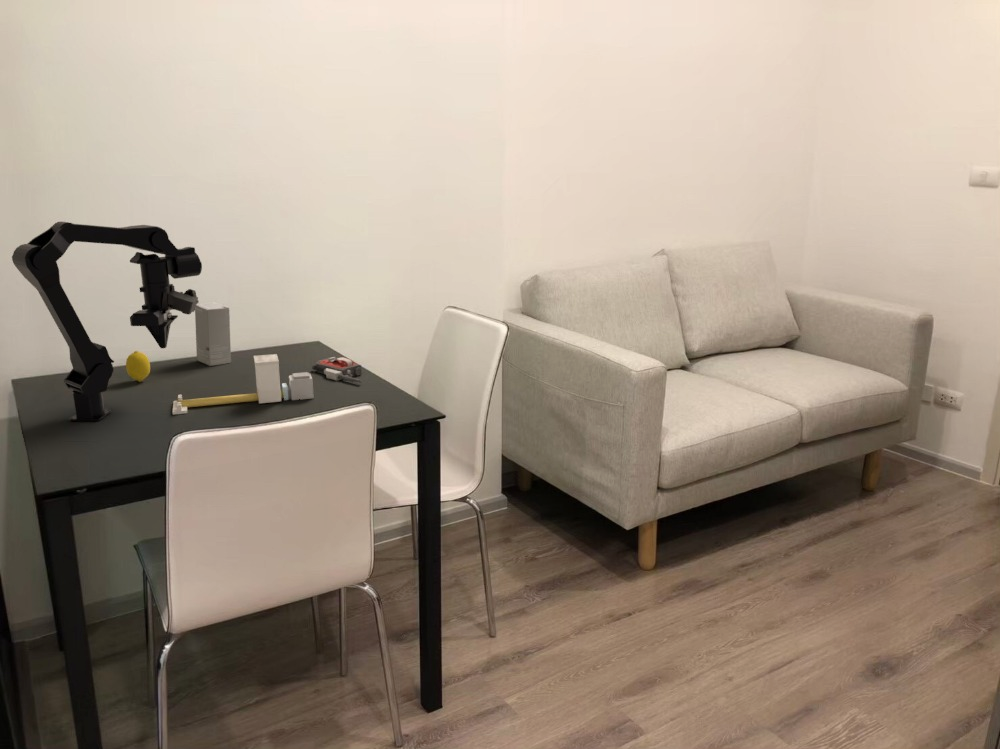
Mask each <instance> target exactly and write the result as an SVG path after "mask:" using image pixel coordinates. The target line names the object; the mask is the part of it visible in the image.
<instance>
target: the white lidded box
mask: <svg viewBox="0 0 1000 749" xmlns="http://www.w3.org/2000/svg"><path fill="white" fill-rule="evenodd" d="M253 360H254V370H255V371H254V372H255V383H256V393H258V399H259V401H258V404H266V403H268V404H269V403H278V402H282V398H281V391H282V388H281V378H280V366H279V364H280V361H279V357H278V354H277V353H273V354H261V355H259V354H258V355H253Z"/></svg>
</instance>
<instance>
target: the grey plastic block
mask: <svg viewBox="0 0 1000 749" xmlns="http://www.w3.org/2000/svg"><path fill="white" fill-rule="evenodd" d="M313 381H314V380H313V377H312V375H311V373H309V372H308V371H305V372H304V371H303V372H294V373H293V372H292V374H291V375H288V383H289V386H288V385H287V382H284V383H283V382H282V383H281V391H283V396H284V399H283V401H289V400H291V401H298V400H299V399H300V400H307V399H309V400H310V399H314V398H315V397H314V386H313V385H314V384H313Z"/></svg>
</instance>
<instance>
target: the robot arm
mask: <svg viewBox="0 0 1000 749" xmlns="http://www.w3.org/2000/svg"><path fill="white" fill-rule="evenodd" d="M75 242H78V243H93V244H105V245H106V244H108V245H122V246H125V247H127V248H128V247H129V248H133V249H136V250H139V251H140V250H141V251H146V252H151V253H150V254H144V253H143V252H139V251H136V252H135V254H134V255H133V257H131V258H130V260H129V263H132V264H135V265H139V266H140V275H141V283H142V285H141V286H140V287H139V293H143V299H144V304H142V305H141V309H139V310H137V311H135V312H133V313H132V314H131V316H129V321H130V322H129V323H130V326H131V327H145V328H146V329H147V330H148V332H149V333H150V334H151V336H152V337H153V338H154V340H155V342H156V343H157V345H158V346H159V348H160V349H166V348H167V346H168V341H169V336H170V329H171V325H172V323H173V322H174V321H175V320H176V319H177V318H178V317H179V316H178V315H177V314H175V315H173V313H172V312H170V311H172V310H174V311H179V312H180V313H182V314H184V315H191V314H192V313H195V307H196V304H199V297H198V296H197V292H196V290H194V289H192V288H188V289H186V290H185V291H184V292H183V291H177V290H175V289H176V288H175V285H174V284H173V283H170V278H169V276H170V277H171V278H173V279H175V280H176V279H182V278H183V279H184V278H190V277H196V276H199V275H200V274H201V273H202V269H203V266H202V265H203V264H202V261H201V259H200V257H199V255H198V253H196V249H195V247H194V246H185V247H182V248H177V247H176V246H175V245H174V243H173V242H172V241H171V239H169V234H168V233H167V231H166V230H165V229H164V228H163V227H161V226H156V225H148V224H141V225H139V224H138V225H128V226H122V227H117V226H116V227H115V226H114V227H113V226H102V225H91V224H79V223H73V222H66V221H57V222H55V223H54V224H53V225H51V226H50V227H49V228H48V229H47V230H45V231H43V232H41V233H40V234H38V235H37V236H35V237H34V238H32V239H31V240H29V242H27V243H23V244H20V245H19V246H17V247H16V248H15V249H14V251H13V253H12V256H11V260H12V263H13V265H14V267H15V268H16V269H17V270H18V272H20V274H21V275H22V276H23V277H24V279H25V280H27V281H28V282H29V283H30V284H31V285H32V286H33V288H35V289H36V290H37V292H38V294H39V295H40V298H41V299H42V301H43V302H44V305H45V306H46V308H47V310H48V312H49V314H50V315H51V317H52V319H53V321H54V322H55V324H56V326H57V328H58V330H59V332H60V333H61V335H62V337H63V339H64V341H65V342H66V344H67V346H68V349H69V360H70V363H71V365H72V366H71V367H72V368H71V370H70V371H69V373H68V374H67V376H66V377H65V378H64V380H63V383H64V385H65V386H66V388H67V389H68V390H72V397H73V403H74V404H73V405H74V410H75V414H74V415H73V416H71V417H70V418H69V421H70V422H97V421H98V422H99V421H101V420H102V419H104V418H105V417H106V416H108V415H109V414H110V413H112V409H108V408H107V409H106V408H105V405H104V395H103V393H104V392H107V391H108V386H109V382H110V379H111V378H112V376H113V373H114V366H113V363H115V360H113V359H112V358H111V356H110V354H109V352H108V349H107V348H106V346H105V345H102V344H99V343H96V342H93V341H92V340H91V338H90V337H89V335H88V334H89V333H88V332H87V331H86V329H85V327H84V326H83V324H82V321H81V319H80V317H79V316H78V314H77V312H76V310H75V309H74V307H73V305H72V303H71V301H70V299H69V297H68V296H67V294H66V292H65V290H64V288H63V286H62V284H61V280H60V279H61V278H60V277H61V276H60V269H59V266H58V262H57V261H58V260H59V259H60V258H62V257H63V256H64V255H65V253H66V251H67V250H68V249H69V247H70V246H71V245H72V244H73V243H75ZM158 254H160V255H164V256H161V257H160V256H159V255H158Z"/></svg>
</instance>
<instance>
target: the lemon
mask: <svg viewBox="0 0 1000 749" xmlns="http://www.w3.org/2000/svg"><path fill="white" fill-rule="evenodd" d="M125 369H126V373H127V374H128V376H129V377H130V378H131V379H133V380H136V381H137V382H139V383H141V382H143V380H144V379H147V377H148V376H149V375H150V372H151V363H150V360H149V358H148V356H147V355H146V354H144V353H143V352H141V351H138V350H135V351H133V352H132V353H131V354H129V355H128V357H127V358H126V361H125Z"/></svg>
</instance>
